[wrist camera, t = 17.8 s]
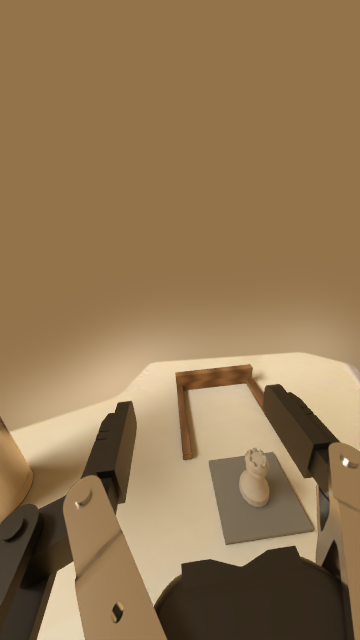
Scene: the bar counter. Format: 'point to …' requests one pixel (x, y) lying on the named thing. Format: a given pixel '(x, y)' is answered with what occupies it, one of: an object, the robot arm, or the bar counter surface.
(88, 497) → the robot arm
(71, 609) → the bar counter surface
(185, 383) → the walnut lane
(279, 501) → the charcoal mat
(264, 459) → the rook chess piece
